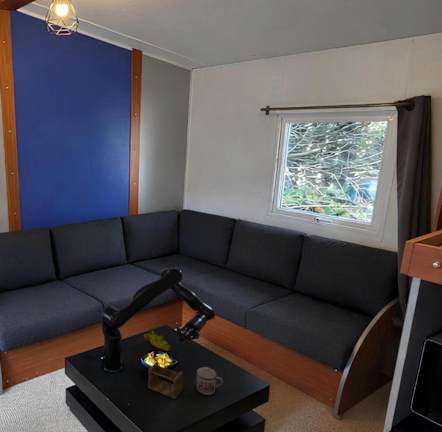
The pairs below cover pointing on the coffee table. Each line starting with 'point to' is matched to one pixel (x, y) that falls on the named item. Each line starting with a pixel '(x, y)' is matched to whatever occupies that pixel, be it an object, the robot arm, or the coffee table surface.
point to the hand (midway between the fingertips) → (180, 339)
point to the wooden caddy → (161, 385)
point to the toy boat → (157, 341)
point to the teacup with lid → (207, 381)
